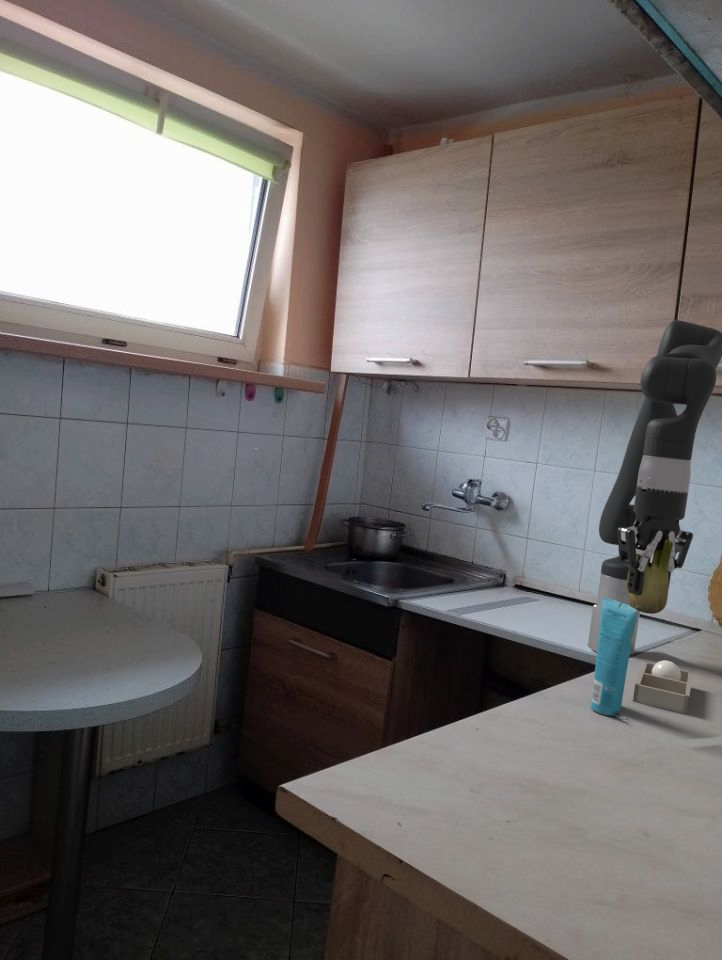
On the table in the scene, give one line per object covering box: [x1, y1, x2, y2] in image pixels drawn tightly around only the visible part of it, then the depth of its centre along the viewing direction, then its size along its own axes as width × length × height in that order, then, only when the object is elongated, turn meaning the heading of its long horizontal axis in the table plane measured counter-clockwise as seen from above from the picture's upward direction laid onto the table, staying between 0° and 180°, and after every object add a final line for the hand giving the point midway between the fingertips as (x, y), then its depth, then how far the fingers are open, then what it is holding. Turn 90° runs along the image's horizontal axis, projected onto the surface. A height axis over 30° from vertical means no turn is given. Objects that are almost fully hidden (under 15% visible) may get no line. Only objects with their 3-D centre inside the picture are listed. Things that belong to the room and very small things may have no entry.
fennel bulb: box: [627, 540, 673, 615], centre depth 119 cm, size 6×5×12 cm
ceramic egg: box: [652, 660, 681, 681], centre depth 144 cm, size 5×5×5 cm
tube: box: [590, 597, 638, 717], centre depth 130 cm, size 7×5×19 cm, turn 39°
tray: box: [632, 661, 693, 715], centre depth 140 cm, size 17×9×4 cm, turn 154°
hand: (647, 593), depth 119 cm, fingers closed on fennel bulb, 4 cm apart
